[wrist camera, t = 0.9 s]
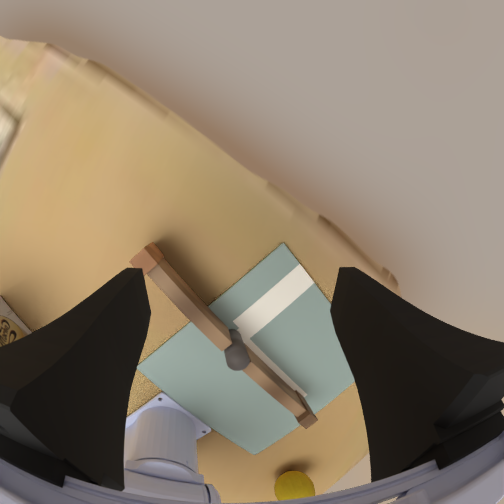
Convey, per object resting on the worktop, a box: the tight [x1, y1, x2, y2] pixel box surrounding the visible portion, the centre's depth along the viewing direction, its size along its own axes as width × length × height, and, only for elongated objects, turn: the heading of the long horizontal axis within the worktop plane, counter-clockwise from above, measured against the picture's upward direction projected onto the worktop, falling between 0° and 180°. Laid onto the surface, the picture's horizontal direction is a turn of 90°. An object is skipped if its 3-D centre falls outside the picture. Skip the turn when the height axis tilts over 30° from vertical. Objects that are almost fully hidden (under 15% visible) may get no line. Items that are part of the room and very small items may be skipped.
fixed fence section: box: [224, 329, 318, 429], centre depth 27 cm, size 13×2×5 cm, turn 39°
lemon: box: [274, 471, 315, 501], centre depth 29 cm, size 6×6×8 cm
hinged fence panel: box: [129, 242, 232, 351], centre depth 24 cm, size 11×2×4 cm, turn 39°
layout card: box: [137, 243, 355, 455], centre depth 29 cm, size 20×20×1 cm
